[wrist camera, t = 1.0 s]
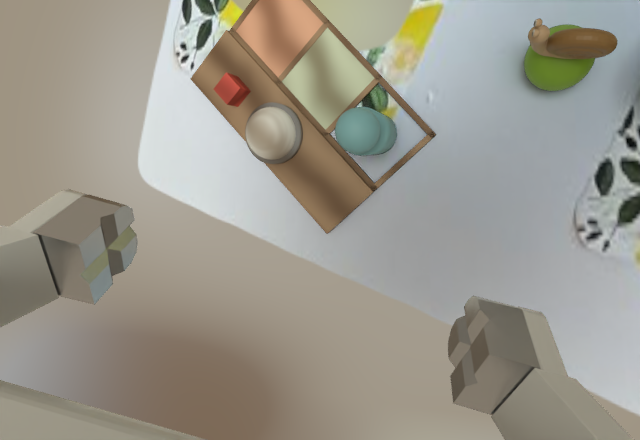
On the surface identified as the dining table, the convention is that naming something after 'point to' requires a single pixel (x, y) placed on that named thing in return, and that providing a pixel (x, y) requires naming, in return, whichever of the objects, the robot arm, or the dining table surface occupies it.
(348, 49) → the game board
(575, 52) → the snail figurine
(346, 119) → the pawn
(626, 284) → the dining table surface
